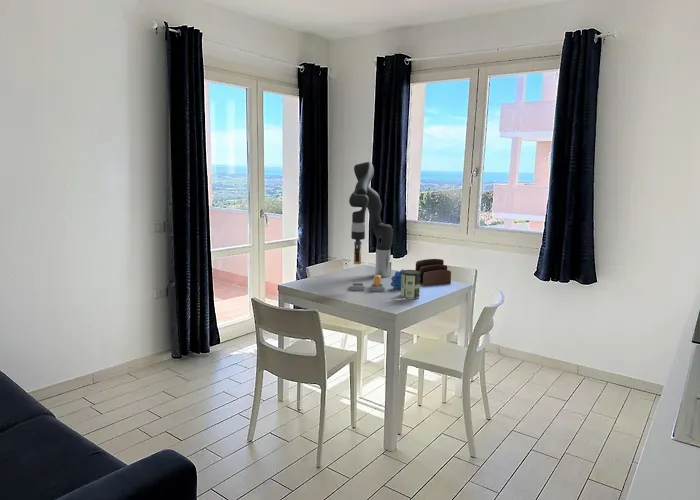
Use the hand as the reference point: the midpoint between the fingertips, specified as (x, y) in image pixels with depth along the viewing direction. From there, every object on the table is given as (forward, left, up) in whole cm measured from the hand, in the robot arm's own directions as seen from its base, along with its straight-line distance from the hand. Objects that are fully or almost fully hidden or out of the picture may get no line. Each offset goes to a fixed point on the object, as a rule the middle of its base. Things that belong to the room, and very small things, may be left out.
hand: (357, 260), depth 287 cm
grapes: (-23, +10, -17) cm, 30 cm away
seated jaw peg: (-9, +7, -16) cm, 20 cm away
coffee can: (-19, +25, -17) cm, 36 cm away
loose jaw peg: (0, 0, -2) cm, 2 cm away
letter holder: (-52, +4, -18) cm, 55 cm away
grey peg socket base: (-5, +4, -17) cm, 18 cm away
